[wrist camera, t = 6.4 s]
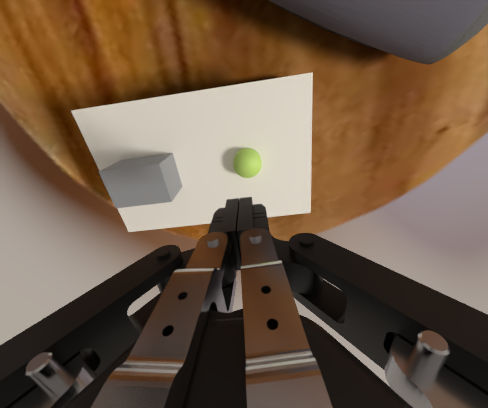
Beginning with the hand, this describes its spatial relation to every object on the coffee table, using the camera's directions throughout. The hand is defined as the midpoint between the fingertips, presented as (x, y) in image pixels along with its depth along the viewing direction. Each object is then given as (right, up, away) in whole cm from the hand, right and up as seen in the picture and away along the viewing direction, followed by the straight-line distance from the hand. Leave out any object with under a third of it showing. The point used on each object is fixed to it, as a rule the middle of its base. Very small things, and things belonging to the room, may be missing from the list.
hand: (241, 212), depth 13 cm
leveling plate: (-4, +6, +13) cm, 14 cm away
